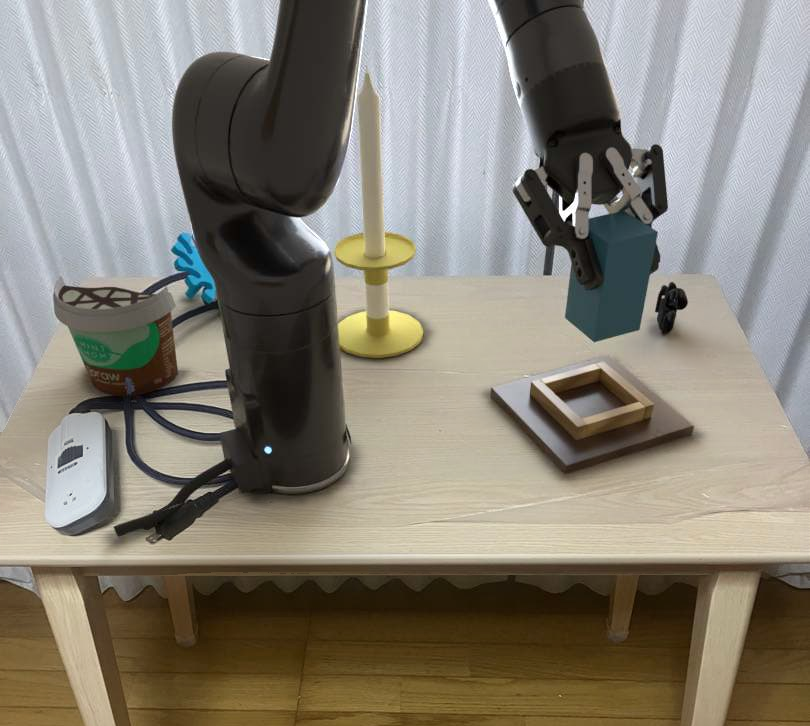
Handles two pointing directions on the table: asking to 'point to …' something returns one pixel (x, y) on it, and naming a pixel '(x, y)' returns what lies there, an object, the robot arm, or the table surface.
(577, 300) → the post block
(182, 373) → the table surface
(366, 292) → the candle
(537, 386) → the square wooden socket base
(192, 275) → the blue branched piece
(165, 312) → the food container
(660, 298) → the wireless earbuds
